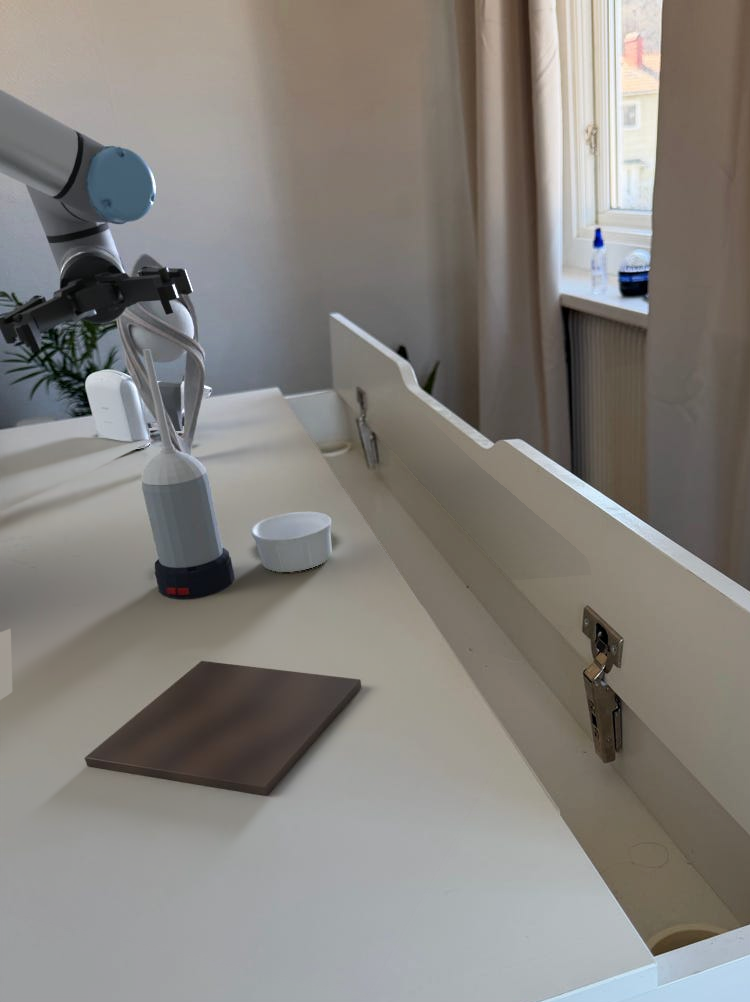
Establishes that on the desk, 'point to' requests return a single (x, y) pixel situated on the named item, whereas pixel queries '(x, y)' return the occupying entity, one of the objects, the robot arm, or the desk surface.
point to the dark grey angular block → (173, 403)
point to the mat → (227, 726)
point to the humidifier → (182, 517)
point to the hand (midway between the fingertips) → (98, 319)
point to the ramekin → (293, 541)
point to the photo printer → (116, 406)
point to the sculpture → (164, 351)
